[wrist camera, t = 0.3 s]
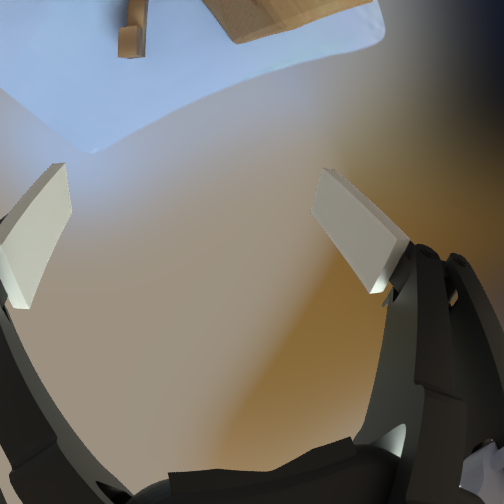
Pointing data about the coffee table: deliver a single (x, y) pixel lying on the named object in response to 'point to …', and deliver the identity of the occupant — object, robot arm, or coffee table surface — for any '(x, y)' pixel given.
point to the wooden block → (271, 15)
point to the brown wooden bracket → (134, 31)
